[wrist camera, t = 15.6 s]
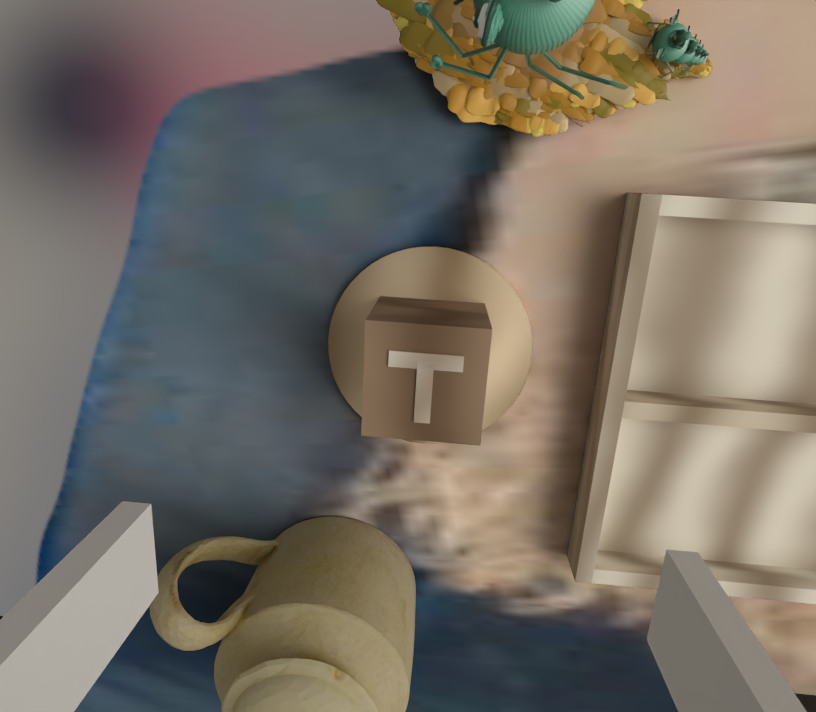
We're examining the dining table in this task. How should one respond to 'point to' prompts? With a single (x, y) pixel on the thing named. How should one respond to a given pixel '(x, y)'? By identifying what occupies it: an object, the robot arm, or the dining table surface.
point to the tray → (705, 400)
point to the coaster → (436, 280)
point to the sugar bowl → (304, 620)
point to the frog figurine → (545, 57)
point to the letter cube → (425, 370)
